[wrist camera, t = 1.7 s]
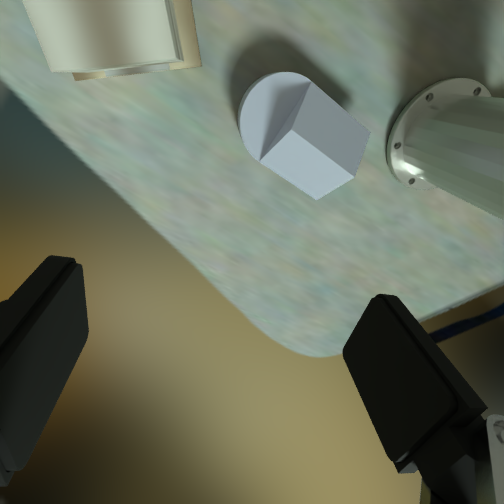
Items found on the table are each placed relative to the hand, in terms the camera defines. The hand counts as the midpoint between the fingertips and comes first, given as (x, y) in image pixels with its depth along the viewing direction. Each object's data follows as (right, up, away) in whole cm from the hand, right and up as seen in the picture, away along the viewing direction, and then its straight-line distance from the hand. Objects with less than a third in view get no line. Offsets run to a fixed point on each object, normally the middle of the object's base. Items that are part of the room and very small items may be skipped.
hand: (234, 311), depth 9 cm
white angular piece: (+5, +16, +23) cm, 29 cm away
